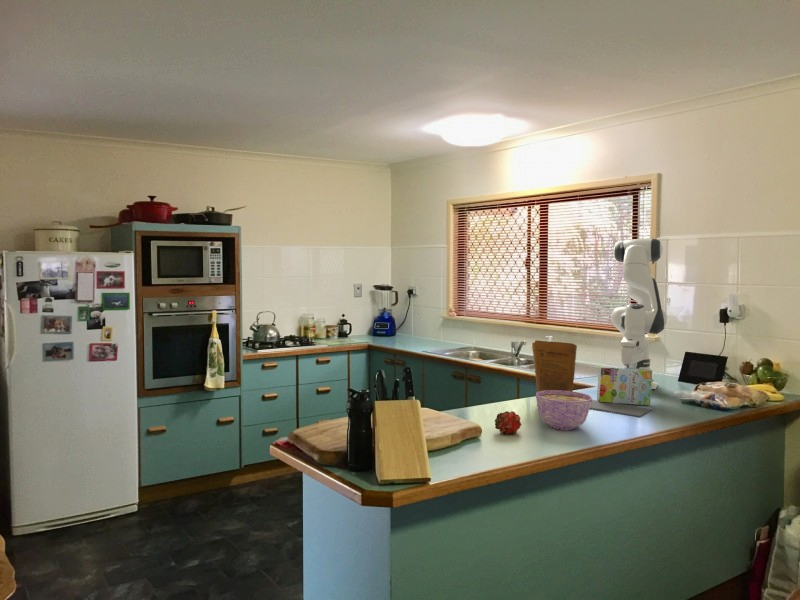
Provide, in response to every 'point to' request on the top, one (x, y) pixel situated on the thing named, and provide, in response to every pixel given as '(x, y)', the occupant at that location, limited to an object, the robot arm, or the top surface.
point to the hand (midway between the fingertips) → (632, 372)
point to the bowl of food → (563, 408)
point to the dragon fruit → (508, 422)
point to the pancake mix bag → (554, 365)
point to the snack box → (624, 385)
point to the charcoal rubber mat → (619, 408)
